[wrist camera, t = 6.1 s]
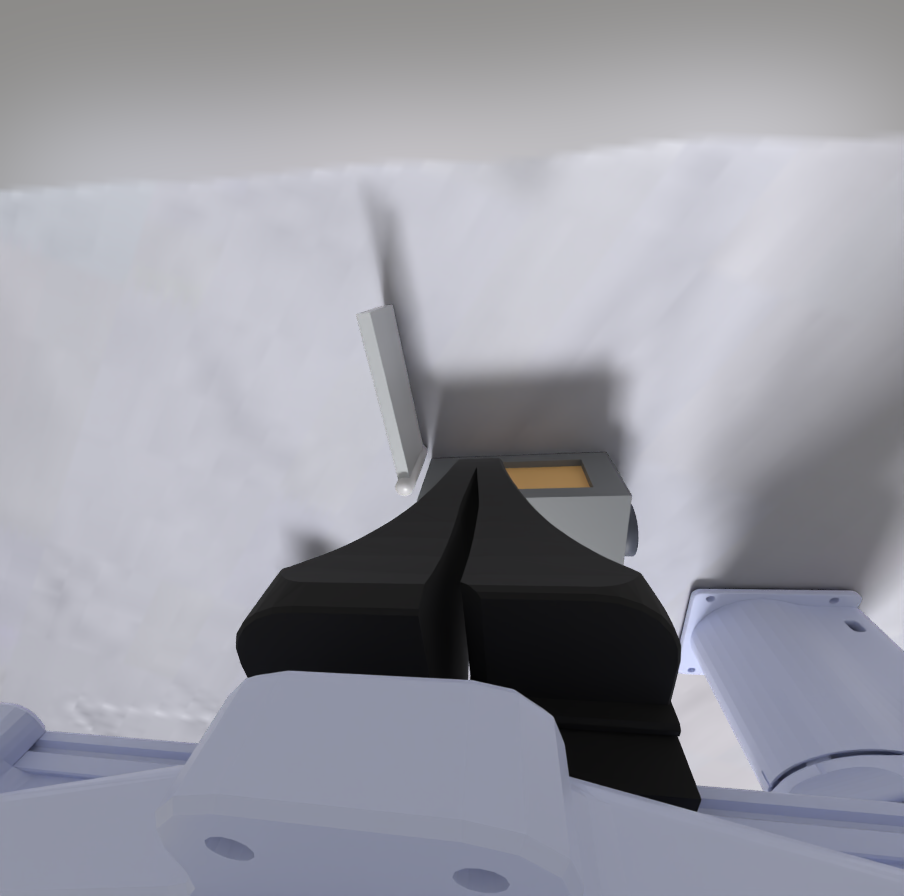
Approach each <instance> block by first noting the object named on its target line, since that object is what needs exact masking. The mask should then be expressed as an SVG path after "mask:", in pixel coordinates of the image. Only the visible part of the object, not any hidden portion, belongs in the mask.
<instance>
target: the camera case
mask: <svg viewBox="0 0 904 896" xmlns="http://www.w3.org/2000/svg"><path fill="white" fill-rule="evenodd" d="M481 458H500V459H501V460H502V461H503V464H504V466H505V469H506V471H507V472H508V474H509V476H510V478H511V479H512V481H513V482H514V483H515V485H516V486H517V488H518V489H519V490H520V492H521V493H522V494H523V496H524V497H525V498H526V499H527V500H528V501H529V503H530V504H531V505H532V506H533V507H534V508H535V509H536V510H537V511H538V512H539V513H540V514H541V515H542V516H543V517H544V518H545V519H546V520H548V521H549V522H550V523H551V524H552V525H554V526H555V527H556V528H558V529H559V530H560V531H562V532H563V533H565V534H566V535H568V536H569V537H570V538H572V539H574V540H575V541H577V542H578V543H580V544H582V545H583V546H585V547H587V548H589V549H591V550H592V551H594V552H596V553H598V554H600V555H602V556H604V557H606V558H608V559H610V560H613V561H615V562H617V563H619V564H622V565H623V564H624V556H634V555H635V554H636V551H637V547H638V525H637V519H636V515H635V512H634V509H633V506H632V504H631V500H632V495H631V493H630V491H629V490H628V488H627V486H626V485H625V483H624V481H623V479H622V478H621V476H620V474H619V473H618V471H617V469H616V468H615V466H614V464H613V463H612V461H611V459H610V458H609V456H608V454H607V452H592V453H566V454H539V455H512V456H486V457H459V458H433V459H431V462H430V465H429V468H428V471H427V473H426V476H425V479H424V482H423V485H422V488H421V491H420V494H419V497H418V499H417V501H418V500H420V499H421V498H422V497H423V496H424V495H425V494H426V493H427V492H428V491H430V490H431V489H432V488H433V487H434V486H435V485H436V484H437V482H438V481H439V480H440V479H441V478H442V477H443V476H444V475H445V474H446V473H447V472H448V471H449V470H450V468H451V467H452V466H453V465H454V464H455V463H456V462H457V461H458V460H459V459H481Z"/></svg>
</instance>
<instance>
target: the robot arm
mask: <svg viewBox="0 0 904 896" xmlns="http://www.w3.org/2000/svg"><path fill="white" fill-rule="evenodd" d="M708 596H709V597H708ZM861 601H862V597H861V596H860V595H859V594H858V593H857V592H855V591H850V590H761V589H697V590H694V591H693V592H692V594H691V597H690V601H689V606H688V610H687V614H686V618H685V623H684V627H683V631H682V635H681V640H680V641H679V638H678V636H677V633H676V631H675V628H674V626H673V624H672V622H671V620H670V618H669V616H668V614H667V612H666V610H665V609H664V607H663V606H662V604H661V602H660V601H659V599H658V598H657V596H656V595H655V593H654V592H653V590H652V589H651V587H650V586H649V584H648V583H647V581H646V580H645V579H644V577H643V576H642V574H641V573H639V572H637V571H635V570H633V569H631V568H628V567H626V566H624V565H622V564H619V563H617V562H615V561H613V560H610V559H608V558H606V557H604V556H602V555H600V554H598V553H596V552H594V551H592V550H591V549H589V548H587V547H585V546H583V545H582V544H580V543H578V542H577V541H575V540H574V539H572V538H570V537H569V536H568V535H566V534H565V533H563V532H562V531H560V530H559V529H558V528H556V527H555V526H554V525H552V524H551V523H550V522H549V521H548V520H546V519H545V518H544V517H543V516H542V515H541V514H540V513H539V512H538V511H537V510H536V509H535V508H534V507H533V506H532V505H531V504H530V503H529V501H528V500H527V499H526V498H525V497H524V496H523V494H522V493H521V492H520V490H519V489H518V488H517V486H516V485H515V483H514V482H513V481H512V479H511V478H510V476H509V474H508V472H507V471H506V469H505V466H504V464H503V461H502V460H501V459H500V458H481V459H459V460H458V461H457V462H456V463H455V464H454V465H453V466H452V467H451V468H450V470H449V471H448V472H447V473H446V474H445V475H444V476H443V477H442V478H441V479H440V480H439V481H438V482H437V484H436V485H435V486H434V487H433V488H432V489H431V490H430V491H428V492H427V493H426V494H425V495H424V496H423V497H422V498H421V499H420V500H418V501H417V502H416V503H415V504H414V505H412V506H411V507H410V508H409V509H407V510H406V511H405V512H403V513H402V514H400V515H399V516H397V517H396V518H395V519H393V520H392V521H390V522H388V523H387V524H385V525H383V526H382V527H380V528H378V529H376V530H375V531H373V532H371V533H369V534H368V535H366V536H364V537H362V538H360V539H358V540H356V541H354V542H352V543H350V544H348V545H345V546H343V547H341V548H339V549H336V550H334V551H332V552H329V553H327V554H324V555H322V556H319V557H316V558H313V559H310V560H308V561H305V562H302V563H299V564H296V565H293V566H291V567H287V568H284V569H282V570H281V571H280V572H279V574H278V575H277V576H276V578H275V579H274V580H273V582H272V583H271V584H270V586H269V587H268V588H267V590H266V591H265V593H264V594H263V595H262V597H261V598H260V599H259V601H258V602H257V604H256V605H255V606H254V608H253V609H252V611H251V612H250V613H249V615H248V616H247V617H246V619H245V620H244V622H243V623H242V625H241V627H240V629H239V631H238V632H237V636H236V650H237V653H238V656H239V659H240V662H241V665H242V667H243V669H244V671H245V673H246V675H247V677H248V678H246V679H245V680H244V681H243V682H242V683H241V684H240V685H239V686H238V687H237V688H236V689H235V690H234V691H233V692H232V693H231V694H230V695H229V696H228V697H227V699H226V701H225V702H224V704H223V705H222V707H221V708H220V710H219V712H218V713H217V715H216V716H215V718H214V719H213V721H212V723H211V724H210V726H209V727H208V729H207V731H206V732H205V734H204V735H203V737H202V738H201V740H200V742H199V743H187V742H175V741H163V740H151V739H139V738H127V737H115V736H104V735H92V734H80V733H68V732H56V731H46V730H45V725H44V724H43V723H42V721H41V720H40V719H39V718H38V717H37V716H36V715H35V714H34V713H33V712H32V711H30V710H29V709H27V708H25V707H23V706H21V705H18V704H13V703H4V702H0V896H904V651H903V650H902V649H901V648H900V647H899V646H898V645H897V644H896V643H895V642H894V641H893V640H892V639H891V638H889V637H888V636H887V635H886V634H885V633H884V632H883V631H882V630H881V629H880V628H879V627H878V626H877V625H876V624H875V623H873V622H872V621H871V620H870V619H869V618H868V617H867V616H866V615H865V614H864V613H863V612H862V611H861V610H860V609H859V608H858V607H859V605H860V603H861ZM469 666H470V675H471V676H470V680H468V667H469ZM678 673H681V674H699V675H705V677H706V679H707V681H708V683H709V685H710V687H711V689H712V691H713V693H714V695H715V697H716V699H717V701H718V703H719V704H720V706H721V708H722V710H723V712H724V714H725V716H726V718H727V720H728V722H729V724H730V726H731V728H732V730H733V732H734V734H735V736H736V738H737V740H738V742H739V744H740V746H741V748H742V750H743V752H744V754H745V756H746V757H747V759H748V761H749V763H750V765H751V767H752V769H753V771H754V773H755V775H756V777H757V779H758V781H759V783H760V785H761V787H762V789H763V791H755V790H743V789H732V788H720V787H708V786H696V783H695V781H694V778H693V776H692V773H691V770H690V768H689V765H688V763H687V760H686V757H685V755H684V752H683V749H682V747H681V744H680V742H679V739H678V736H680V733H681V728H680V723H679V721H678V718H677V716H676V713H675V710H674V708H673V705H672V703H671V698H672V694H673V690H674V686H675V682H676V678H677V674H678Z"/></svg>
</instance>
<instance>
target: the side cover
mask: <svg viewBox="0 0 904 896" xmlns="http://www.w3.org/2000/svg"><path fill="white" fill-rule="evenodd" d="M356 317H357V321H358V325H359V329H360V333H361V336H362V340H363V344H364V348H365V352H366V356H367V360H368V364H369V368H370V372H371V375H372V379H373V383H374V387H375V391H376V395H377V399H378V403H379V407H380V411H381V414H382V418H383V422H384V426H385V430H386V434H387V438H388V442H389V446H390V449H391V453H392V457H393V461H394V465H395V469H396V473H397V477H398V481H397V483H396V486H395V489H396V492H397V493H398V494H400V495H401V496H409V495H411V494H412V492H413V490H414V487H415V485H416V482H417V479H418V477H419V474H420V471H421V469H422V466H423V464H424V461H425V458H426V456H427V453H428V450H427V448H426V447H425V446H424V445H423V443H422V438H421V434H420V429H419V425H418V420H417V415H416V411H415V406H414V401H413V397H412V392H411V387H410V383H409V378H408V373H407V369H406V364H405V360H404V355H403V350H402V346H401V341H400V336H399V332H398V327H397V322H396V318H395V313H394V308H393V304H391V305H386V306H380V307H377V308H374V309H371V310H368V311H365V312H362V313H359V314H356Z"/></svg>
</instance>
